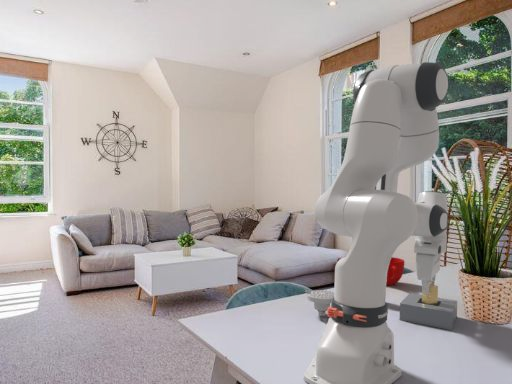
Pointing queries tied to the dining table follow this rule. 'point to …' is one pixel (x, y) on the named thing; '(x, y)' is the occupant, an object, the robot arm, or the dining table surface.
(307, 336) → the dining table surface
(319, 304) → the showerhead
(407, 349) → the dining table surface
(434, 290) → the brass pipe
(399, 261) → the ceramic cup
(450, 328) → the fitting block
